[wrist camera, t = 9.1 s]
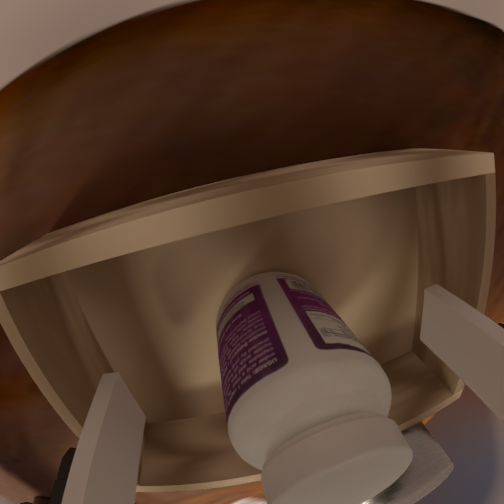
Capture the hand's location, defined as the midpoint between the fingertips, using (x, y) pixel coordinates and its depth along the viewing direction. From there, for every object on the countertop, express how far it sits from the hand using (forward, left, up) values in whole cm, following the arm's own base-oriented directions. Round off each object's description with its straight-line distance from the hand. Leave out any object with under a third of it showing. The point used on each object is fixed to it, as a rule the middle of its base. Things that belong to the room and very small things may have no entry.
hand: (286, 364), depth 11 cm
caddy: (0, 0, -4) cm, 4 cm away
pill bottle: (0, 0, -4) cm, 4 cm away
